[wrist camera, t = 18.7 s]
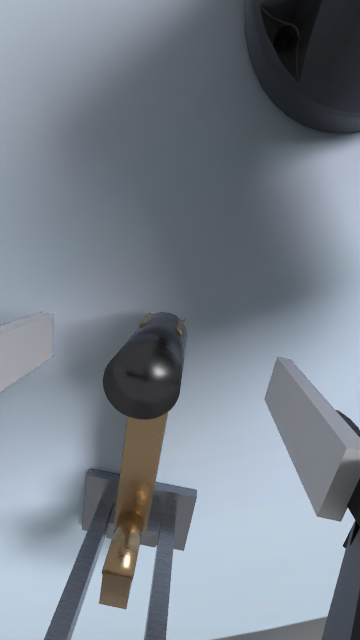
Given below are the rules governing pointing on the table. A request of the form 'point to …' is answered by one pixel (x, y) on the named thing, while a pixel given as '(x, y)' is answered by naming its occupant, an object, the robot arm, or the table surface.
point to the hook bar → (140, 437)
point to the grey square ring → (162, 530)
